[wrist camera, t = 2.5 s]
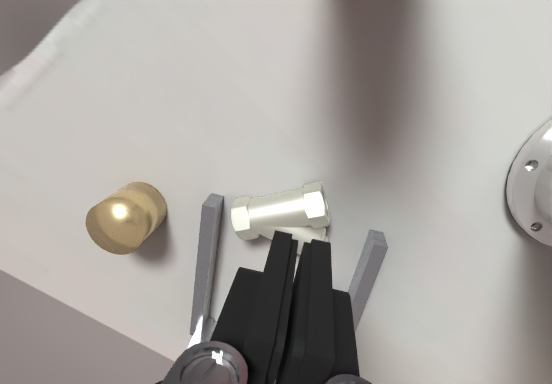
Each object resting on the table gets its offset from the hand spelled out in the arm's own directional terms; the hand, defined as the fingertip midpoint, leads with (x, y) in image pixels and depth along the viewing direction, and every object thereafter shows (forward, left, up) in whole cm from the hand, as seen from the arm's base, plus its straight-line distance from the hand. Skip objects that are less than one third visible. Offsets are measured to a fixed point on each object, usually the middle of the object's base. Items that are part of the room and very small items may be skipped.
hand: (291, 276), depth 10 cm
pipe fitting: (0, +8, -19) cm, 21 cm away
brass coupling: (+15, +10, -19) cm, 26 cm away
